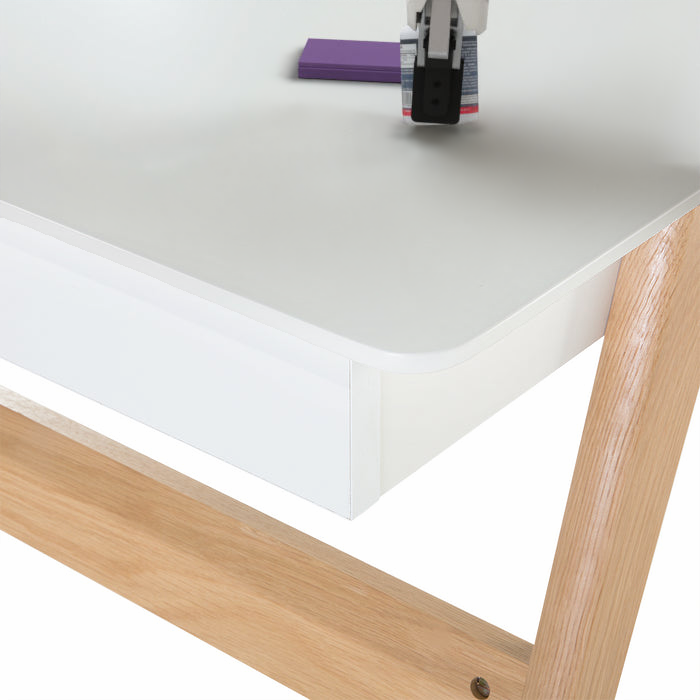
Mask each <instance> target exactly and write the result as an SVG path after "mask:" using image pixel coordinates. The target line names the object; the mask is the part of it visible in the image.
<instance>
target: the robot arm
mask: <svg viewBox="0 0 700 700" xmlns="http://www.w3.org/2000/svg"><path fill="white" fill-rule="evenodd" d="M489 5H490V0H406V23H407V24H408V25H409V27H410V28H411V29H413V30H414V31H416V30H417V26H418V29H419V37H418V55H415V61H414V69H413V87H412V105H411V119H412V120H413V121H414V122H420V123H435V124H447V125H450V126H451V125H458V124H457V123H458V122H459V120H460V108H461V96H462V83H463V71H464V58H461V47H462V34H463V31H464V26H465V29H466V31H476V35H477V36H480V35H482V34H484V33H485V31H486V30H487V28H488V16H489V7H490V6H489ZM407 24H406V25H407ZM452 54H453V57H452Z"/></svg>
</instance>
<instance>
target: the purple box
mask: <svg viewBox="0 0 700 700" xmlns="http://www.w3.org/2000/svg"><path fill="white" fill-rule="evenodd" d="M297 78H299V79H300V78H301V79H318V80H322V79H324V80H338V81H339V80H340V81H341V80H342V81H362V82H379V83H381V82H382V83H399V84H400V83H401V53H400V41H399V42H398V41H380V40H379V41H376V40H357V39H355V40H354V39H334V38H333V39H332V38H313V37H312V38H311V37H308V38H307V40H306V42H305V45H304V47H303V50H302V52H301V55H300V57H299V60H298V61H297Z"/></svg>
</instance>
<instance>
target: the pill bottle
mask: <svg viewBox="0 0 700 700" xmlns="http://www.w3.org/2000/svg"><path fill="white" fill-rule="evenodd" d="M418 37H419V29H418V26H417V30H416V31H414V30H413V29H411V28H410V27H409V25H408V24H406V25H405V26H403V27H402V29H401V31H400V34H399V42H400V53H401V85H400V87H401V113H402V121H403V123H404V124H405V125H407V126H408V125H409V126H441V125H444V126H445V125H448V124H435V123H420V122H414V121H413V120H412V119H411V105H412V87H413V69H414V61H415V55H418ZM452 57H453V54H452ZM461 58H464V71H463V83H462V96H461V108H460V120H459V122H458V123H457V124H456V125H459V124H470V123H475V122H477V121H478V119H479V116H480V111H479V110H480V109H479V108H480V107H479V106H480V105H479V104H480V103H479V101H480V100H479V65H478V64H479V63H478V62H479V61H478V35H476V31H466V29H465V26H464V31H463V34H462V47H461Z"/></svg>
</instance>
